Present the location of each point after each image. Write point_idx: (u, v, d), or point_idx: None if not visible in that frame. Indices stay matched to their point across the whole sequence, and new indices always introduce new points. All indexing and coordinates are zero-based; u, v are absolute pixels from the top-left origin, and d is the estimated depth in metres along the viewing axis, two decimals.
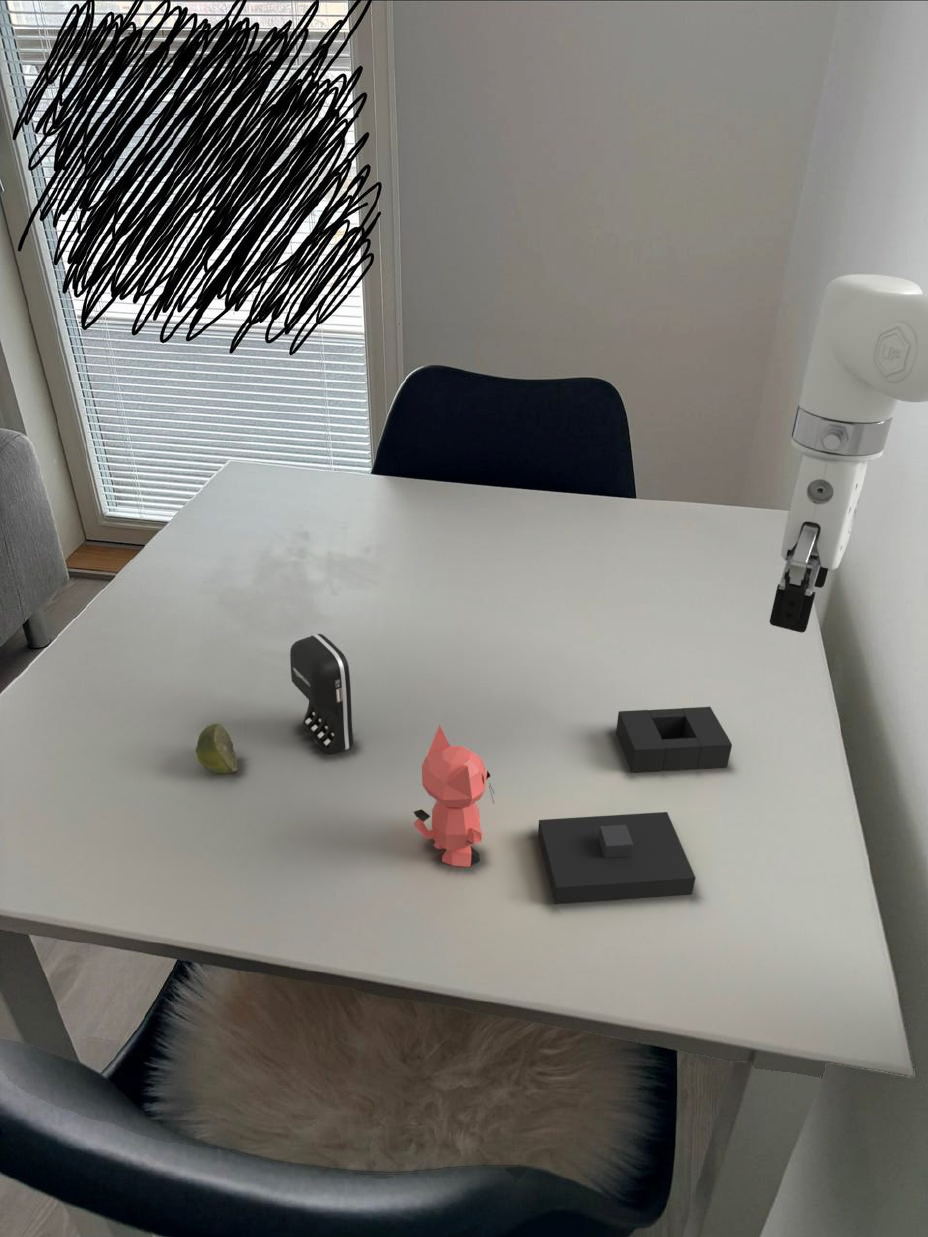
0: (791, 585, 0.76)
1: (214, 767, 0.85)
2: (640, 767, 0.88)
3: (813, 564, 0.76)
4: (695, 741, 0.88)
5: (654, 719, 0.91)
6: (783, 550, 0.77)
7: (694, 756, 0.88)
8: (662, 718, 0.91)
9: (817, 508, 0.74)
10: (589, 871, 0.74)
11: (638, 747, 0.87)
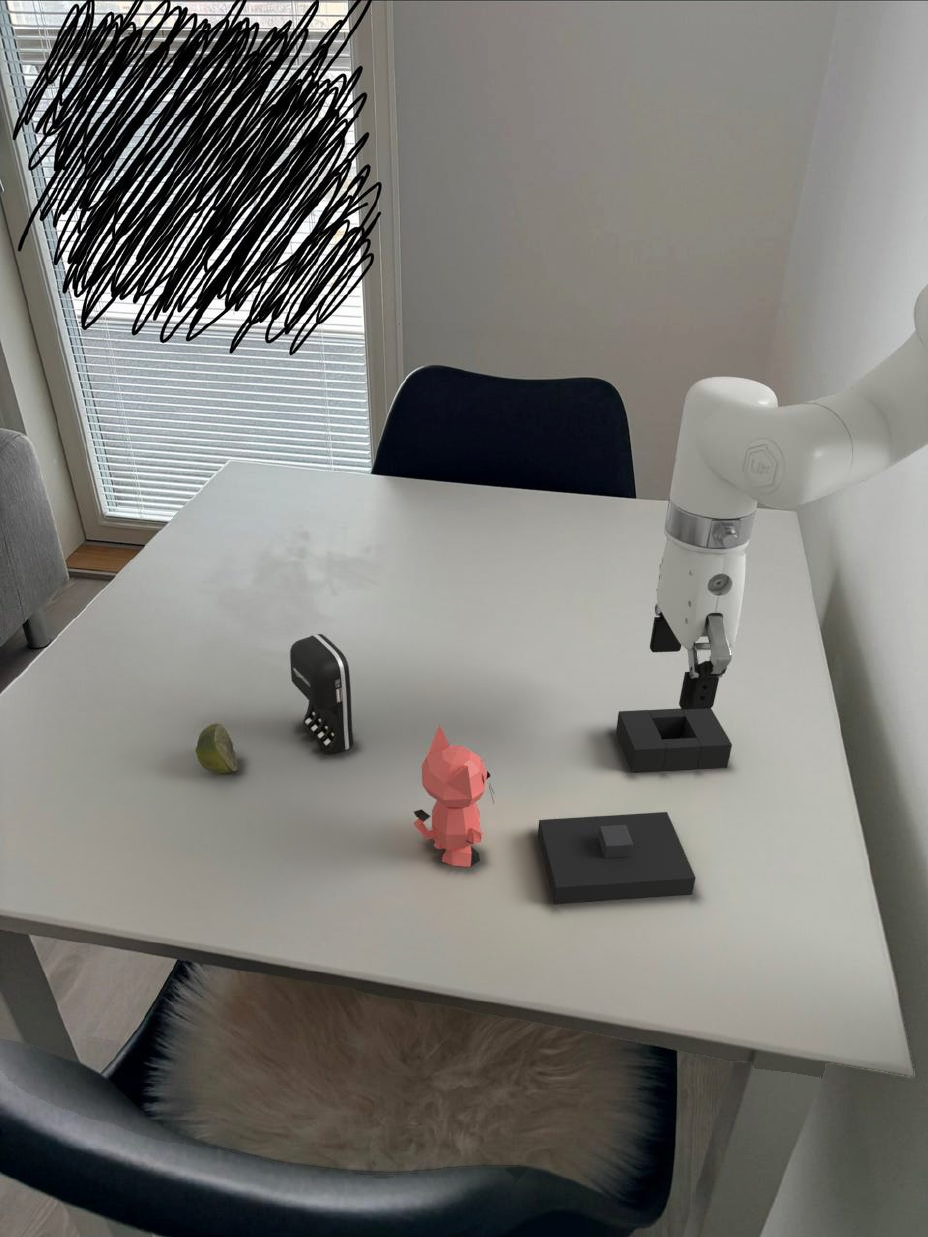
0: (709, 674, 0.78)
1: (214, 767, 0.85)
2: (640, 767, 0.88)
3: None
4: (695, 741, 0.88)
5: (654, 719, 0.91)
6: (688, 642, 0.79)
7: (694, 756, 0.88)
8: (662, 718, 0.91)
9: (719, 600, 0.77)
10: (589, 871, 0.74)
11: (638, 747, 0.87)
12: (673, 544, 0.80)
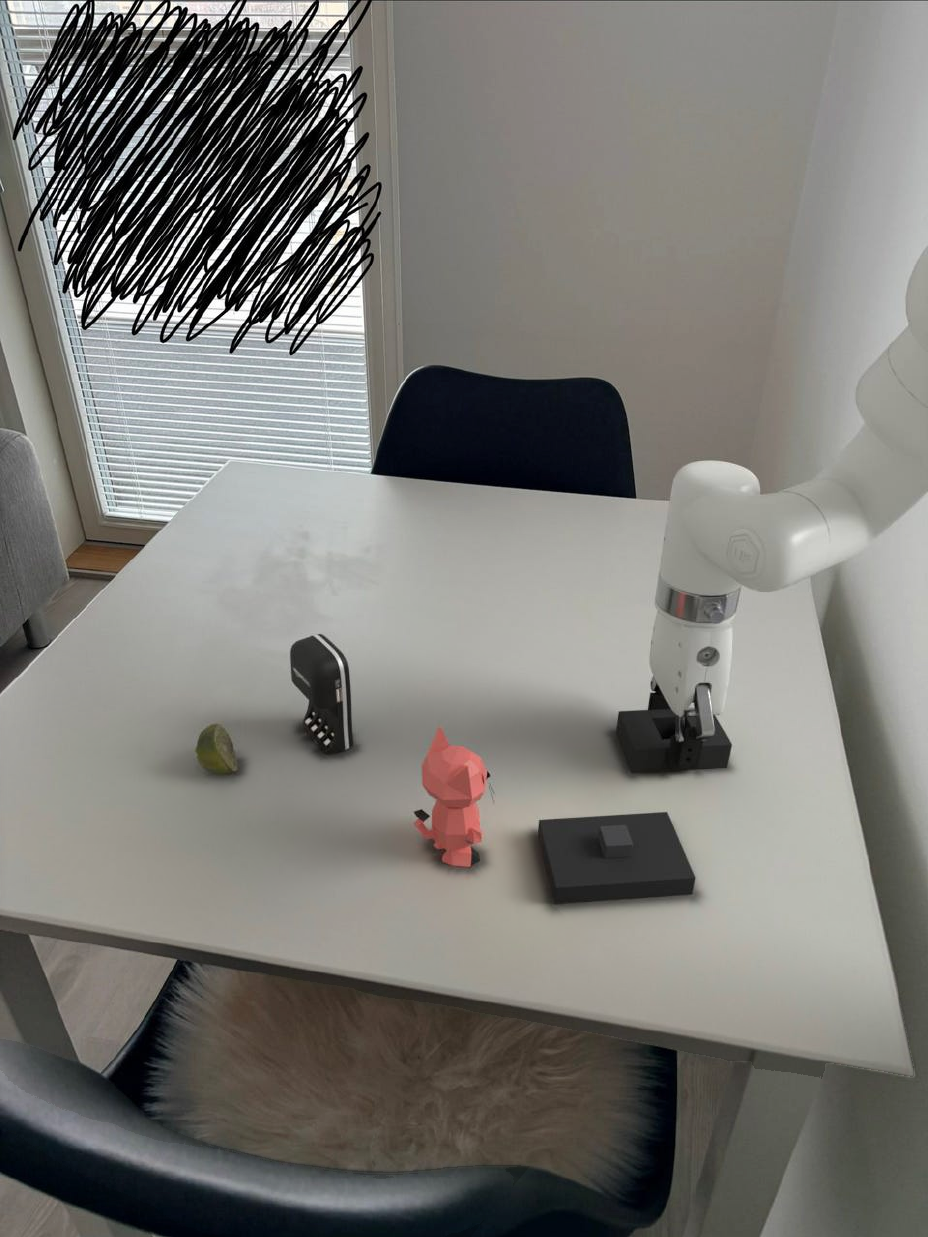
0: None
1: (214, 767, 0.85)
2: (640, 767, 0.88)
3: None
4: None
5: (654, 719, 0.91)
6: (679, 710, 0.83)
7: None
8: (662, 718, 0.91)
9: (707, 670, 0.80)
10: (589, 871, 0.74)
11: (638, 747, 0.87)
12: (663, 615, 0.84)
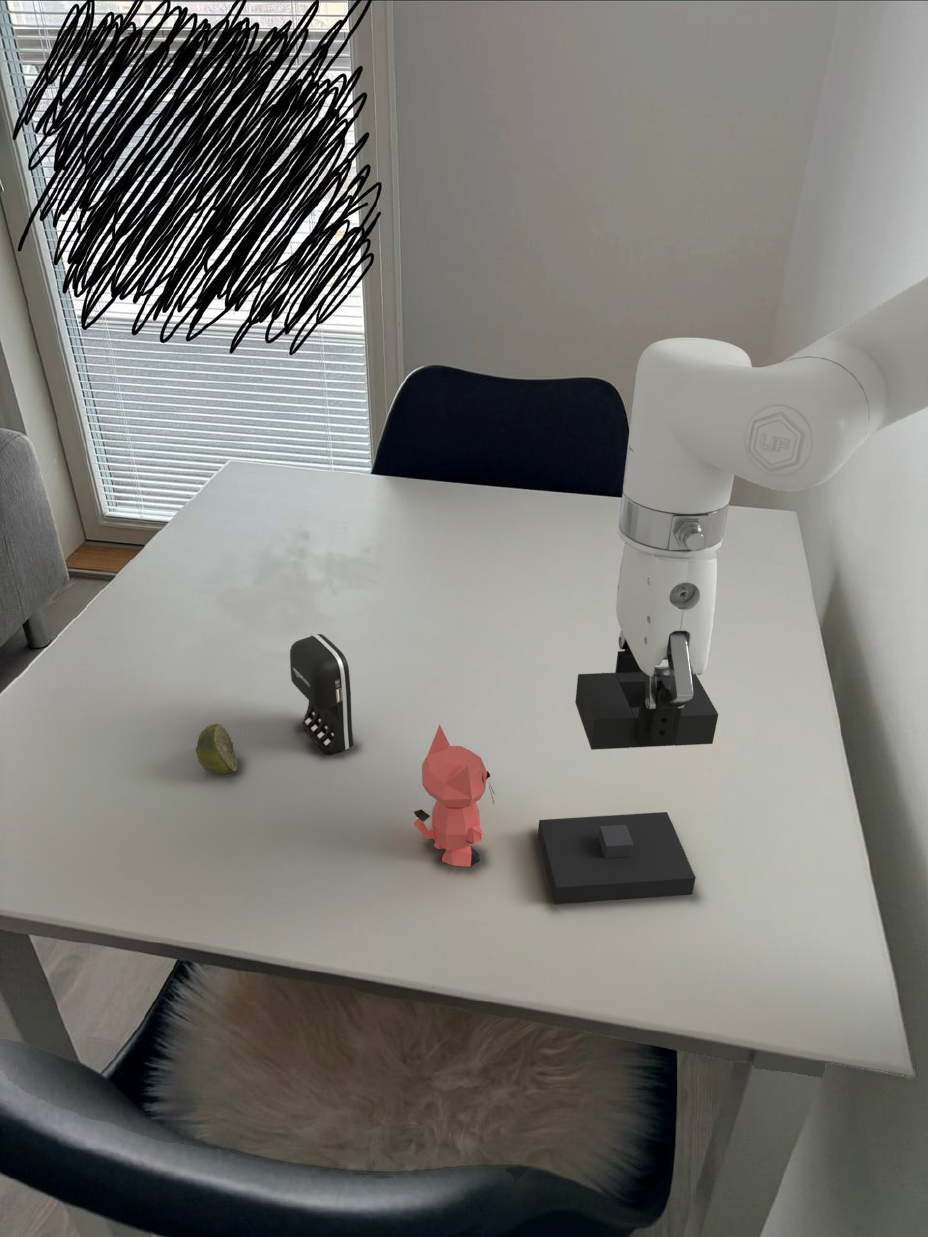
0: (667, 705, 0.65)
1: (214, 767, 0.85)
2: (602, 742, 0.70)
3: None
4: None
5: (622, 684, 0.73)
6: (649, 667, 0.64)
7: None
8: (632, 683, 0.73)
9: (684, 614, 0.62)
10: (589, 871, 0.74)
11: (599, 716, 0.69)
12: (630, 547, 0.66)
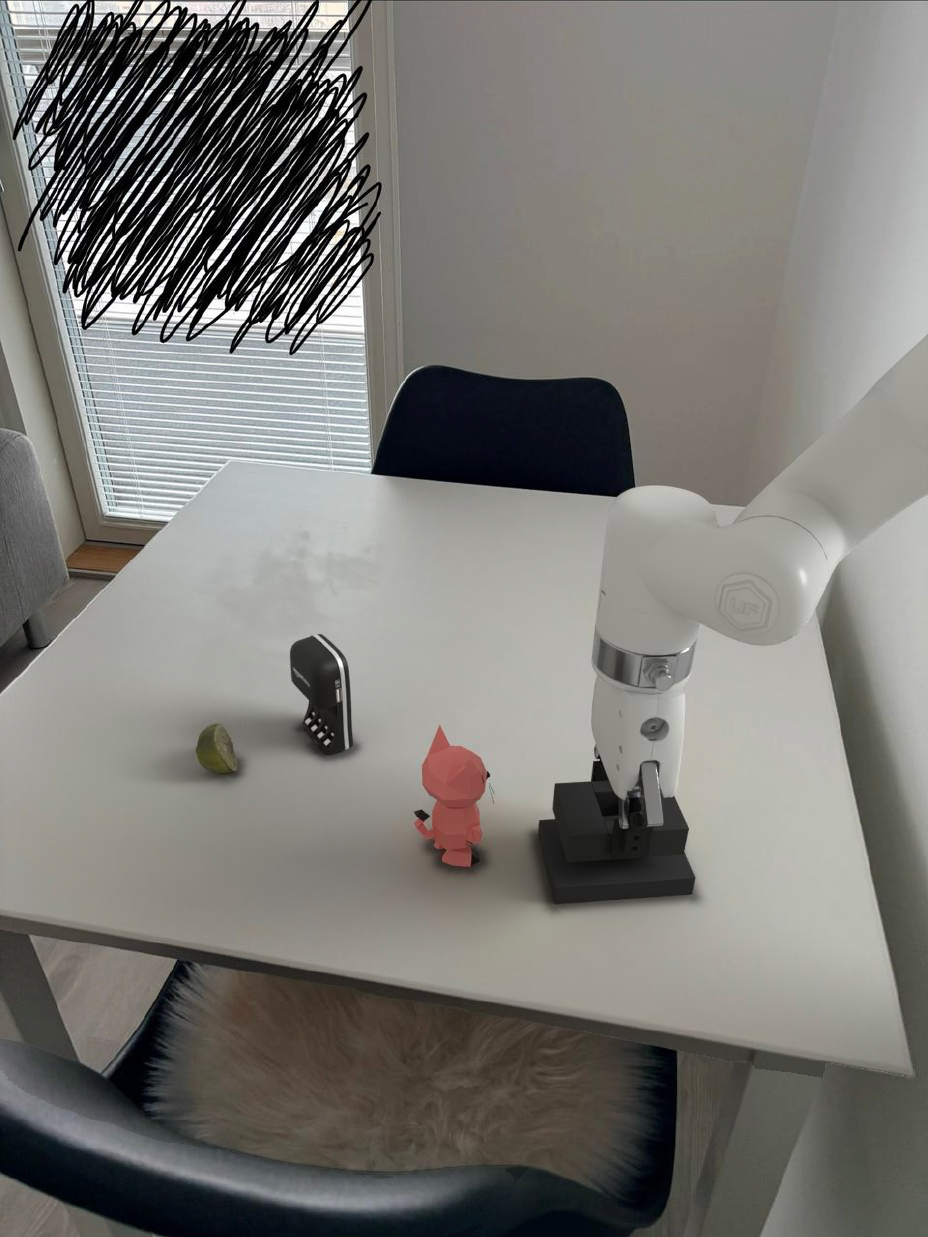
0: None
1: (214, 767, 0.85)
2: (577, 855, 0.72)
3: None
4: None
5: (597, 794, 0.76)
6: (621, 792, 0.67)
7: None
8: (607, 792, 0.76)
9: (654, 746, 0.65)
10: (589, 871, 0.74)
11: (574, 832, 0.71)
12: None
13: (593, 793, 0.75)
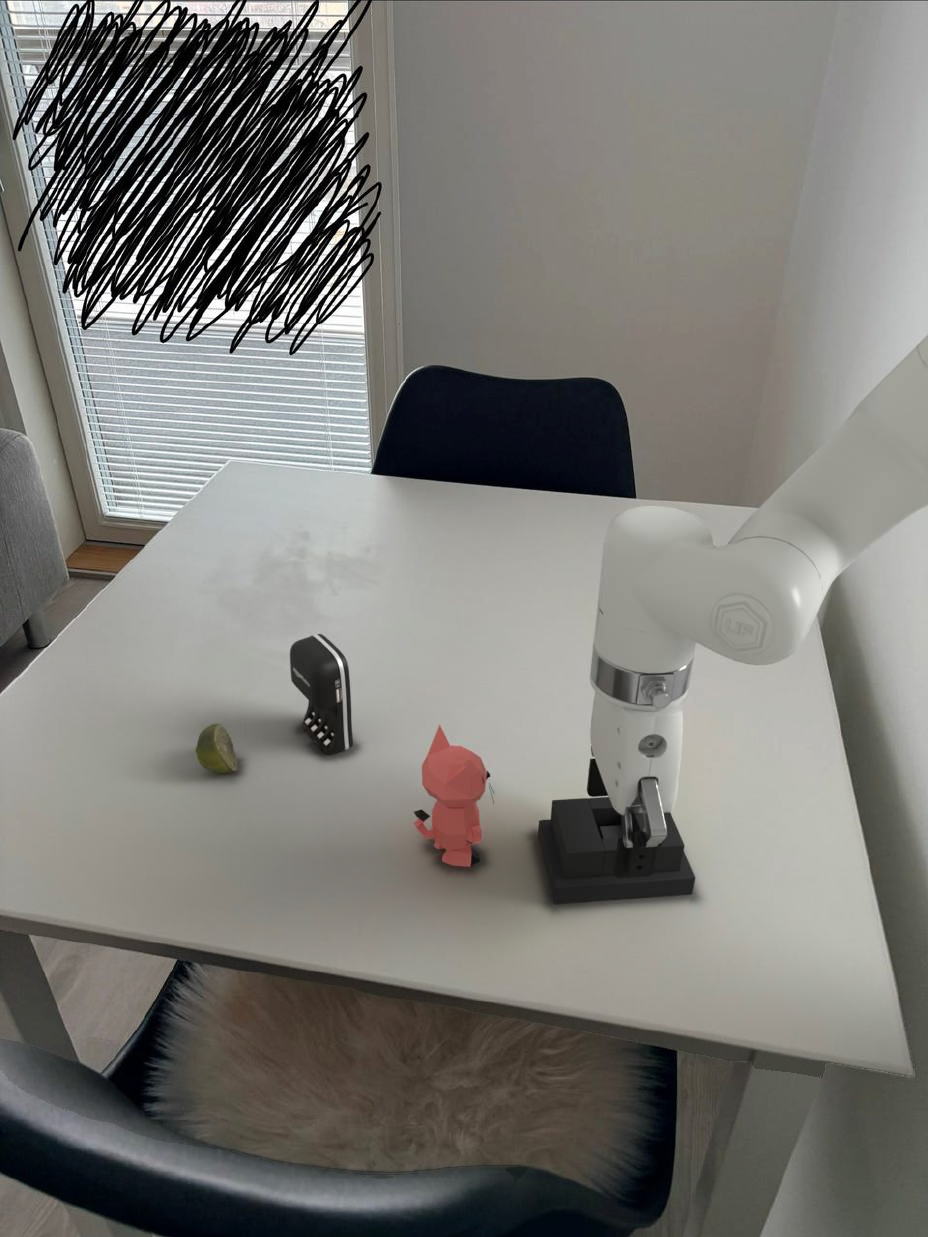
0: None
1: (214, 767, 0.85)
2: (574, 872, 0.73)
3: None
4: None
5: (594, 810, 0.77)
6: (620, 807, 0.68)
7: None
8: (603, 809, 0.77)
9: (652, 762, 0.65)
10: None
11: (571, 849, 0.72)
12: None
13: (590, 810, 0.76)
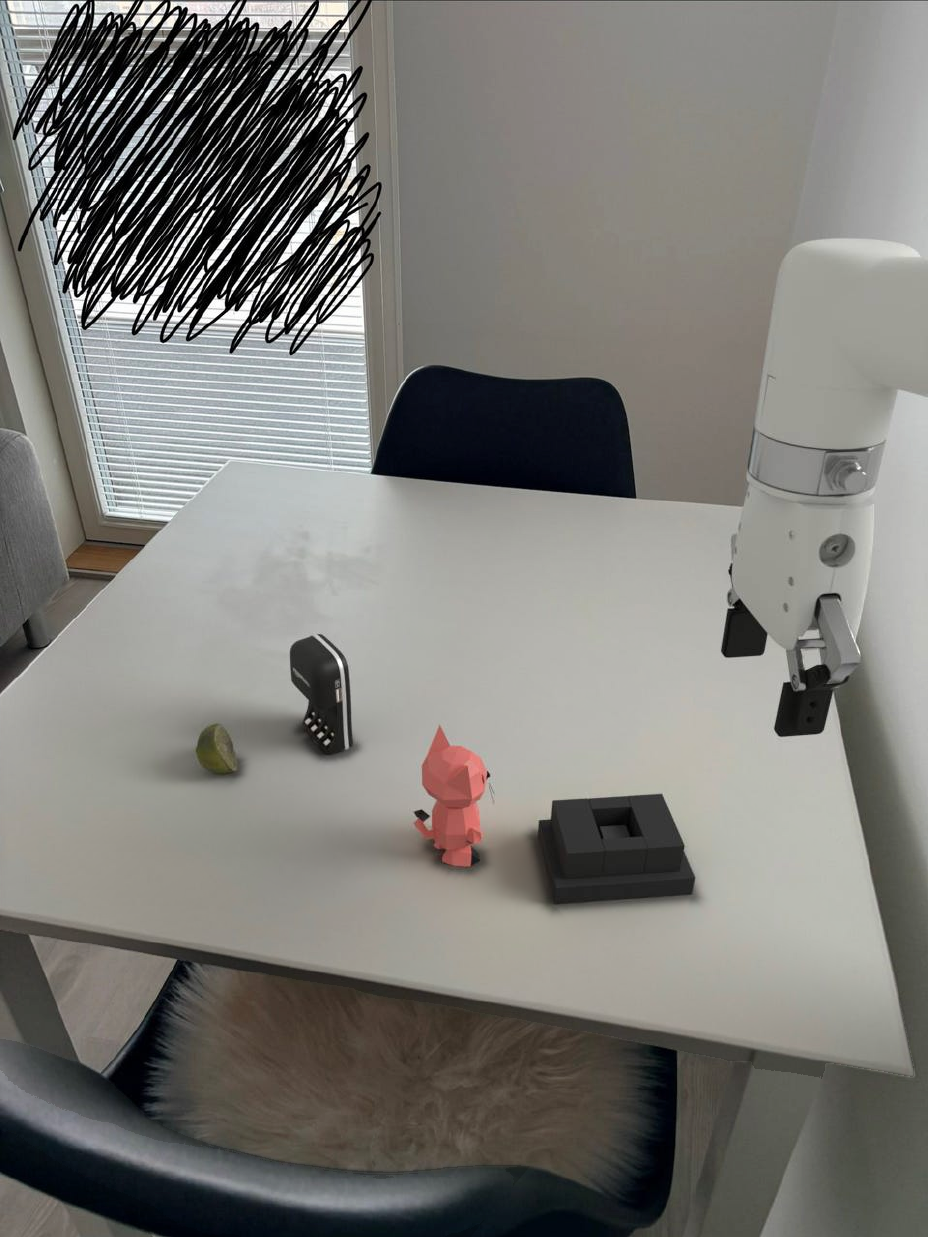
0: (822, 684, 0.53)
1: (214, 767, 0.85)
2: (574, 872, 0.73)
3: None
4: (641, 841, 0.73)
5: (594, 811, 0.77)
6: (789, 639, 0.54)
7: (640, 860, 0.73)
8: (604, 809, 0.77)
9: (836, 573, 0.52)
10: None
11: (571, 850, 0.72)
12: (759, 498, 0.56)
13: (590, 810, 0.76)
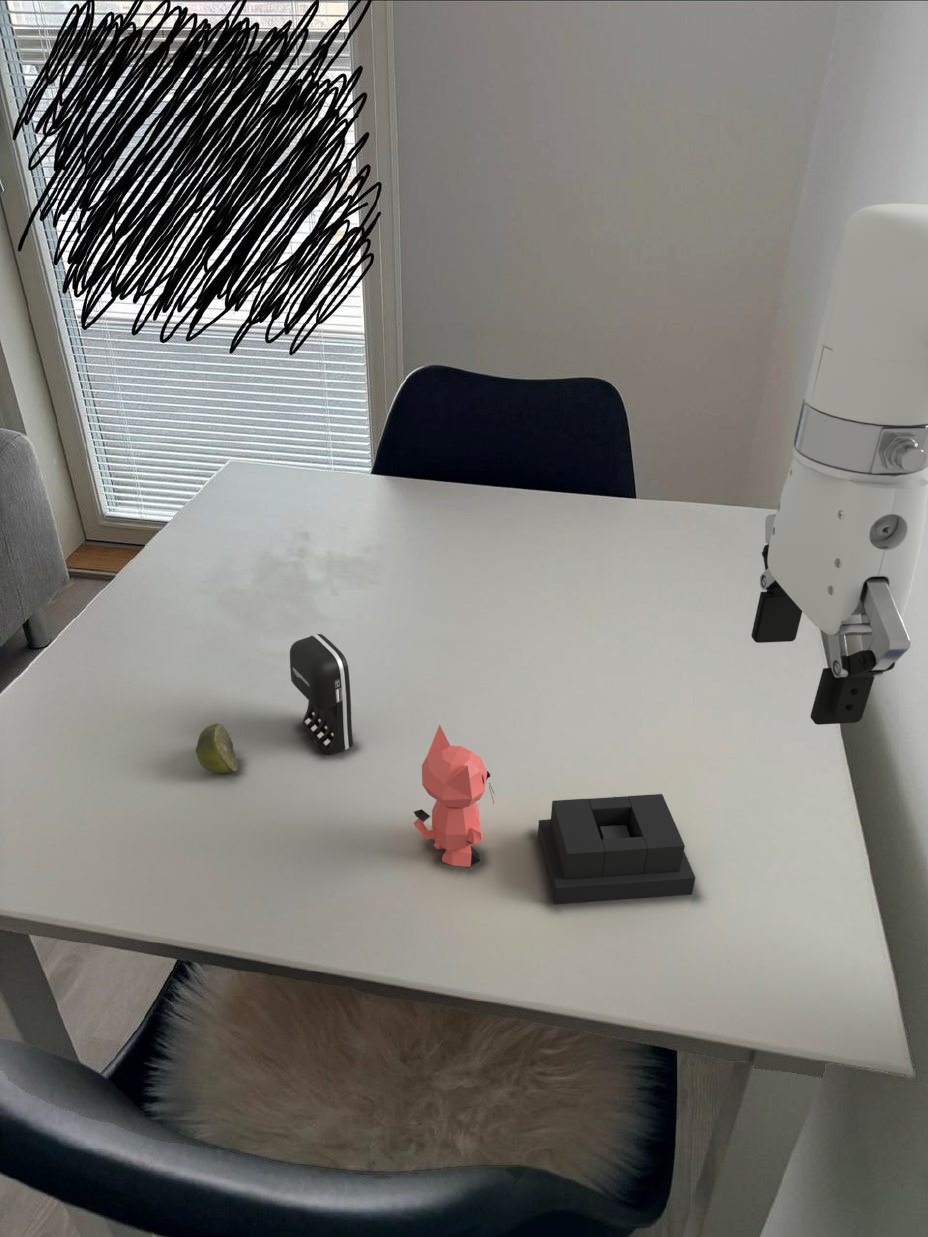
0: (866, 671, 0.52)
1: (214, 767, 0.85)
2: (574, 873, 0.73)
3: (871, 630, 0.53)
4: (641, 842, 0.73)
5: (594, 811, 0.77)
6: (833, 623, 0.52)
7: (640, 860, 0.73)
8: (604, 809, 0.77)
9: (885, 555, 0.50)
10: None
11: (571, 850, 0.72)
12: (805, 476, 0.53)
13: (590, 810, 0.76)
